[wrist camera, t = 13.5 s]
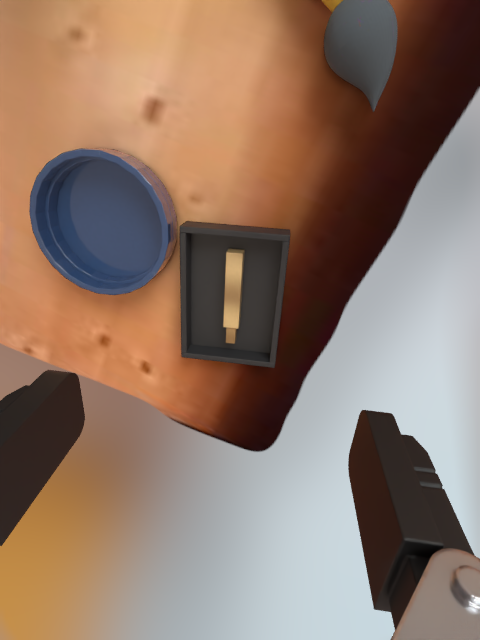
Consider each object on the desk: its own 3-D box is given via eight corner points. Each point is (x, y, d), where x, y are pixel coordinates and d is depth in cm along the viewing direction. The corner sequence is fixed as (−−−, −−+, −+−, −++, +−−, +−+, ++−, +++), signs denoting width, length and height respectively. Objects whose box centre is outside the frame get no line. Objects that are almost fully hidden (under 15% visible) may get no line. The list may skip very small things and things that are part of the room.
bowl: (40, 144, 34) (16, 144, 31) (177, 153, 33) (165, 154, 30) (62, 277, 40) (43, 288, 37) (179, 288, 39) (169, 301, 36)
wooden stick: (228, 248, 36) (226, 252, 35) (244, 249, 36) (242, 253, 34) (224, 336, 40) (222, 344, 39) (239, 338, 40) (237, 345, 39)
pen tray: (186, 221, 36) (179, 226, 34) (290, 229, 35) (290, 235, 33) (187, 345, 42) (181, 357, 40) (275, 356, 41) (274, 368, 39)
